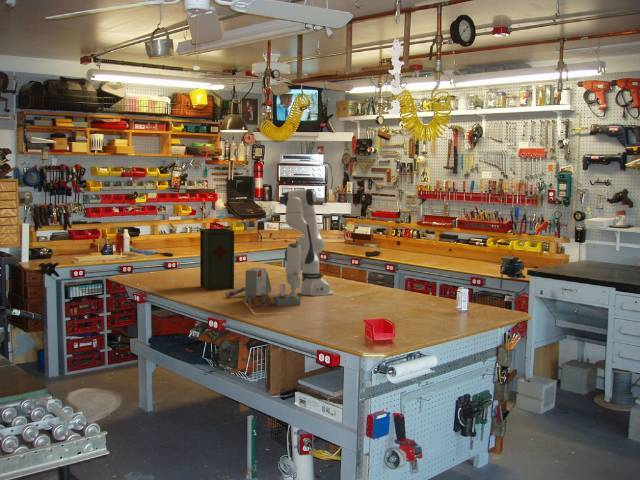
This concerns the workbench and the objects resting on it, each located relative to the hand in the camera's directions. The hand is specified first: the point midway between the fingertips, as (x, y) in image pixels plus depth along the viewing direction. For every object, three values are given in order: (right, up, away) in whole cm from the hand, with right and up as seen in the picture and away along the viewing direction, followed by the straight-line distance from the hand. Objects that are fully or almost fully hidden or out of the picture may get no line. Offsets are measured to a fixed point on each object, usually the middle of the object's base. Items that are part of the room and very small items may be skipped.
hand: (293, 293), depth 395 cm
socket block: (-4, -8, 0) cm, 8 cm away
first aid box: (-55, -1, +53) cm, 76 cm away
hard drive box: (-24, -6, +13) cm, 28 cm away
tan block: (0, -6, +1) cm, 6 cm away
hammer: (-31, -4, +27) cm, 41 cm away
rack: (-20, -8, -5) cm, 22 cm away
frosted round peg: (-7, -7, -1) cm, 9 cm away
